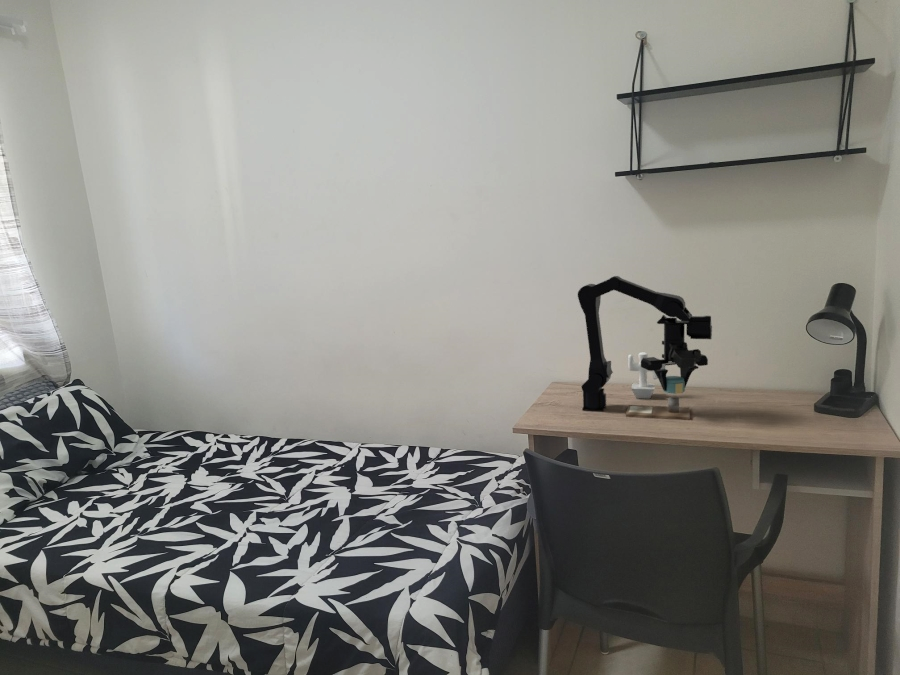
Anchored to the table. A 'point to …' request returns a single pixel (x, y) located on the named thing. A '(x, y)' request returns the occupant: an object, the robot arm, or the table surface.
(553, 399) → the table surface
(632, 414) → the board
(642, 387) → the figurine
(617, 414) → the table surface
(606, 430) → the table surface
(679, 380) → the cap
